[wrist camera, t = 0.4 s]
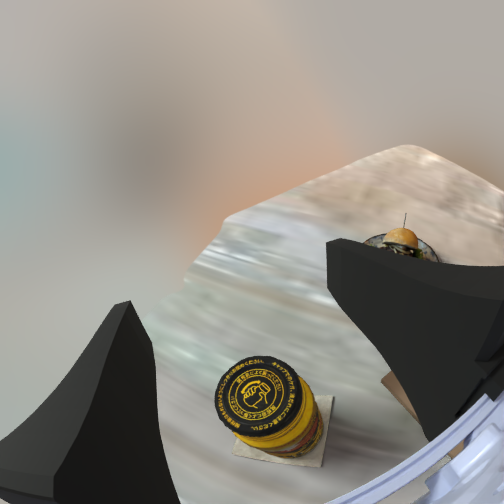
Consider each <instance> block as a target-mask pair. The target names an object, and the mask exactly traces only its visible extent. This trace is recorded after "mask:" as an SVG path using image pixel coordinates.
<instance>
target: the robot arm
mask: <svg viewBox="0 0 504 504" xmlns="http://www.w3.org/2000/svg"><path fill="white" fill-rule="evenodd" d="M326 254H327V288H328V289H329V291H330V293H331V294H332V296H333V297H334V299H335V300H336V302H337V303H338V305H339V306H340V307H341V309H342V310H343V311H344V312H345V313H346V314H347V315H348V317H349V318H350V319H351V320H352V321H353V322H354V323H355V324H356V326H357V327H358V328H359V329H360V330H361V331H362V332H363V333H364V335H365V336H366V337H367V338H368V339H369V340H370V341H371V342H372V344H373V345H374V346H375V347H376V348H377V350H378V351H379V352H380V353H381V355H382V356H383V358H384V359H385V361H386V362H387V364H388V365H389V367H390V368H391V370H392V371H393V373H394V375H395V376H396V378H397V380H398V381H399V383H400V385H401V386H402V388H403V390H404V392H405V393H406V395H407V397H408V399H409V401H410V403H411V405H412V407H413V409H414V411H415V413H416V415H417V417H418V419H419V422H420V424H421V426H422V429H423V431H424V434H425V436H426V438H427V439H428V441H429V442H430V443H429V444H427V445H426V446H425V447H423V448H422V449H421V450H419V451H418V452H416V453H415V454H414V455H412V456H411V457H409V458H408V459H406V460H405V461H403V462H402V463H400V464H399V465H397V466H396V467H394V468H392V469H391V470H389V471H387V472H386V473H384V474H382V475H381V476H379V477H377V478H376V479H374V480H372V481H370V482H368V483H367V484H365V485H363V486H361V487H359V488H357V489H355V490H353V491H351V492H349V493H347V494H345V495H343V496H341V497H339V498H336V499H334V500H332V501H330V502H327V503H325V504H376V503H377V502H379V501H381V500H383V499H384V498H386V497H388V496H389V495H391V494H393V493H394V492H396V491H397V490H399V489H401V488H402V487H404V486H405V485H407V484H408V483H410V482H411V481H413V480H414V479H415V478H417V477H418V476H420V475H421V474H422V473H424V472H425V471H427V470H428V469H429V468H430V467H432V466H433V465H434V464H436V463H437V462H438V461H439V460H441V459H442V458H443V457H444V456H446V455H447V454H448V453H449V452H450V451H451V450H453V449H454V448H455V447H456V446H457V445H458V444H459V443H461V442H462V441H463V440H464V443H463V444H464V447H463V450H462V451H461V452H460V453H458V454H457V455H456V456H455V457H454V458H453V459H451V460H450V461H449V462H448V463H447V464H445V465H444V466H443V467H442V468H440V469H439V470H438V471H437V472H435V473H434V474H433V475H432V476H430V477H429V478H428V479H426V480H425V484H426V485H427V487H428V488H429V490H430V491H428V492H427V493H425V494H424V495H423V496H421V497H420V498H418V499H417V500H415V501H414V502H412V503H411V504H504V266H466V265H455V264H447V263H440V262H434V261H429V260H423V259H419V258H415V257H410V256H406V255H402V254H399V253H395V252H391V251H388V250H384V249H381V248H377V247H374V246H370V245H367V244H363V243H360V242H356V241H352V240H347V239H342V238H339V239H336V240H333V241H329V242H326ZM0 498H1V499H3V500H4V501H6V502H8V503H10V504H181V503H180V501H179V498H178V495H177V493H176V490H175V487H174V484H173V481H172V478H171V475H170V471H169V468H168V464H167V461H166V457H165V453H164V449H163V444H162V440H161V435H160V430H159V422H158V408H157V389H156V366H155V359H154V353H153V346H152V342H151V340H150V338H149V336H148V334H147V332H146V331H145V329H144V327H143V325H142V323H141V321H140V319H139V317H138V315H137V313H136V311H135V309H134V307H133V305H132V303H131V301H126V302H123V303H119V304H116V305H114V307H113V308H112V309H111V310H110V312H109V313H108V315H107V316H106V318H105V320H104V321H103V322H102V324H101V325H100V327H99V328H98V330H97V332H96V333H95V335H94V336H93V338H92V339H91V341H90V342H89V344H88V345H87V347H86V348H85V350H84V351H83V353H82V354H81V356H80V357H79V358H78V360H77V361H76V363H75V364H74V366H73V367H72V368H71V370H70V371H69V373H68V374H67V375H66V376H65V378H64V379H63V380H62V381H61V383H60V384H59V385H58V386H57V388H56V389H55V390H54V391H53V392H52V393H51V395H50V396H49V397H48V398H47V399H46V400H45V401H44V402H43V403H42V404H41V405H40V406H39V407H38V409H37V410H36V411H35V412H34V413H33V414H32V415H30V417H28V418H27V419H26V420H25V421H24V422H23V423H22V424H21V425H20V426H18V427H17V428H16V429H15V430H14V431H13V432H11V433H10V434H9V435H8V436H7V437H5V438H4V439H2V440H1V441H0Z"/></svg>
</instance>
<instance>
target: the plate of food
mask: <svg viewBox="0 0 504 504" xmlns="http://www.w3.org/2000/svg"><path fill="white" fill-rule="evenodd" d="M405 219H406V215H405ZM404 225H405V220H404ZM363 244H367V245H370V246H374V247H377V248H381V249H384V250H388V251H391V252H395V253H399V254H402V255H406V256H410V257H415V258H419V259H423V260H429V261H434V262H439V260H438V257H437V255H436V254H435V252H434V251H433V249H432V248H431V247H430V246H429V245H427V244H426V243H425V242H423V241H422V240H420V239H418V238H417V237H416V235H415V234H414V233H413V232H412V231H411V230H409V229H406V228H404V227H403V228H397V229H394V230H392V231H390V232H389V233H387V234H381V235H377V236H374V237H371V238H369V239H368V240H366V241H365V242H364V243H363Z"/></svg>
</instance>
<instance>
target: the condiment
mask: <svg viewBox="0 0 504 504" xmlns="http://www.w3.org/2000/svg"><path fill="white" fill-rule="evenodd" d="M332 398H333V396H323V395H313V393H312V391H311V389H310V387H309V385H308V384H307V383H306V382H305V381H304V380H303V379H302V378H301V377H300V376H299V375H297V373H296V372H295V371H294V369H293V368H291V367H290V366H289V365H288V364H287V363H285V362H283V361H281V360H279V359H276V358H274V357H271V356H253V357H248V358H245V359H243V360H241V361H239V362H238V363H236V364H235V365H234V366H232V367H231V368H230V369H229V370H228V371H227V372H226V373H225V374H224V375H223V376H222V377H221V379H220V381H219V383H218V386H217V389H216V392H215V408H216V410H217V413H218V416H219V419H220V420H221V421H222V422H223V423H224V424H225V426H226V427H228V428H229V429H230V430H232V432H233V433H234V435H235V436H236V437H237V438H236V442H235V445H234V448H233V451H232V454H235V455H239V456H244V457H249V458H254V459H259V460H264V461H270V462H276V463H283V464H291V465H299V466H309V467H321V463H322V458H323V453H324V448H325V443H326V437H327V432H328V425H329V419H330V413H331V405H332Z"/></svg>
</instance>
